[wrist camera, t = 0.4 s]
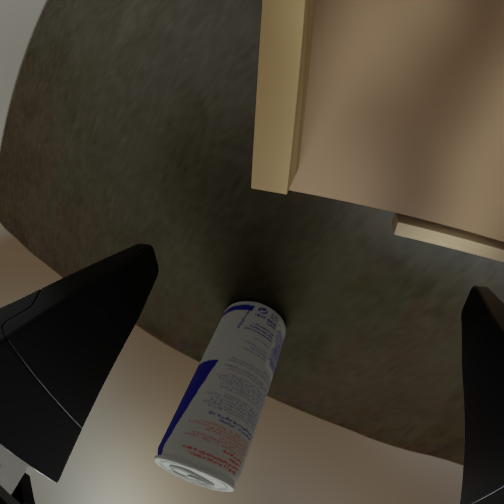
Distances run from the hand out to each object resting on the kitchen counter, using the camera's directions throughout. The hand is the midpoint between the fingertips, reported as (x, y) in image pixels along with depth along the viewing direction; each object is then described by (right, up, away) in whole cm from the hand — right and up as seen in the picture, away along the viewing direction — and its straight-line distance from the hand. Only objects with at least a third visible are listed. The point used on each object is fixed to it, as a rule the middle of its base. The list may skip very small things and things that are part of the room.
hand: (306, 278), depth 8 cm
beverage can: (-1, -5, +20) cm, 21 cm away
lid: (+6, +6, +1) cm, 9 cm away
